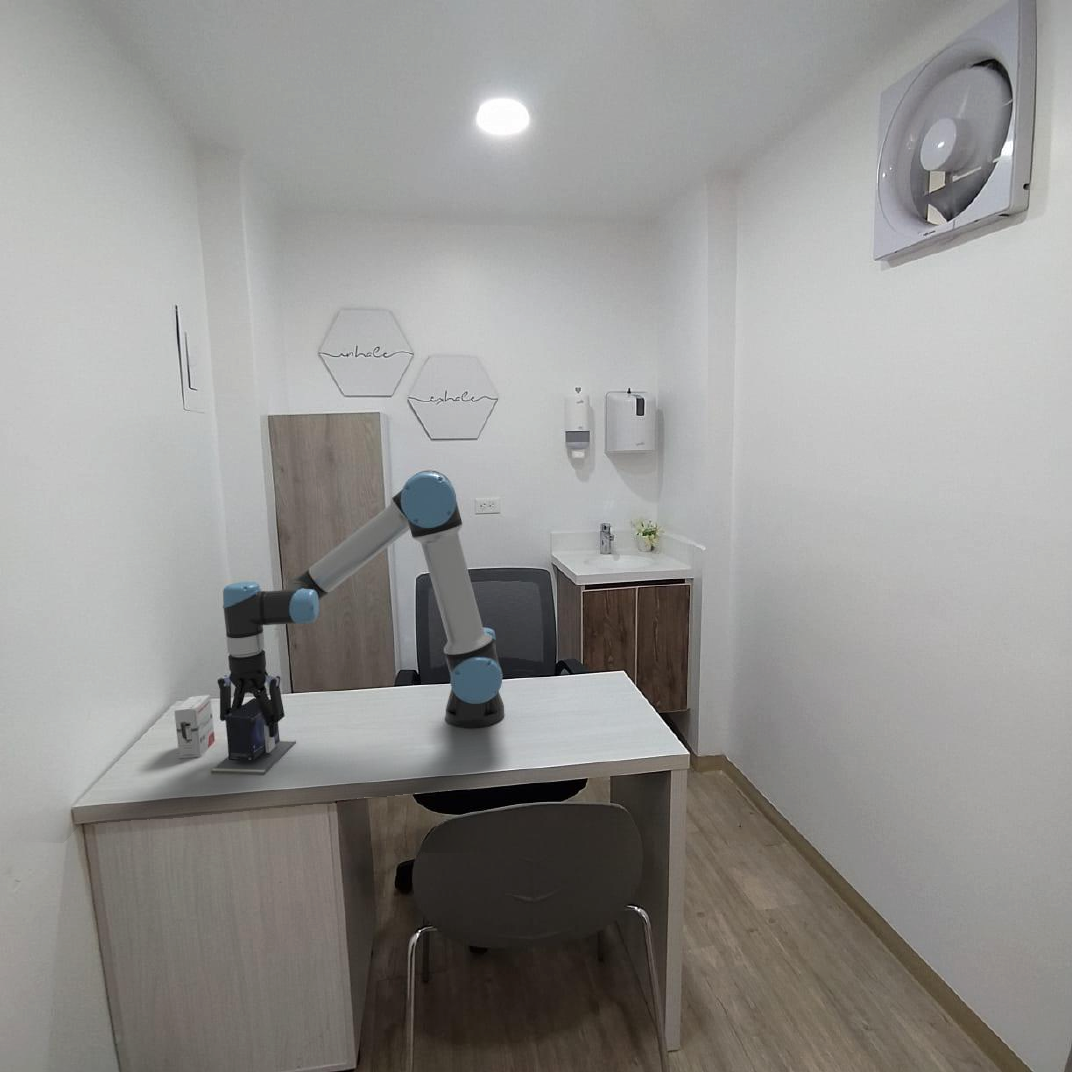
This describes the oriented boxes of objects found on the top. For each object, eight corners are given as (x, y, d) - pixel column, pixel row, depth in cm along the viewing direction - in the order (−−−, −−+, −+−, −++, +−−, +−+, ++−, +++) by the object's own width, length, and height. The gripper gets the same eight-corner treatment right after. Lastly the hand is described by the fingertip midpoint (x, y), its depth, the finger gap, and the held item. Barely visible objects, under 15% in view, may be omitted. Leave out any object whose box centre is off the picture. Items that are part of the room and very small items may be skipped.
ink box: (194, 741, 155) (190, 695, 153) (215, 740, 155) (211, 694, 154) (178, 759, 146) (172, 709, 145) (200, 757, 147) (195, 708, 145)
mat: (296, 742, 153) (295, 740, 153) (263, 774, 138) (263, 771, 138) (248, 741, 154) (248, 738, 154) (211, 773, 139) (210, 770, 139)
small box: (254, 762, 140) (249, 717, 139) (227, 761, 141) (222, 716, 140) (281, 741, 151) (277, 698, 149) (256, 739, 152) (252, 697, 150)
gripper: (296, 646, 146) (304, 742, 149) (214, 646, 147) (223, 741, 151) (280, 657, 138) (288, 758, 141) (194, 657, 140) (204, 756, 143)
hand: (255, 749), depth 146 cm, fingers closed on small box, 7 cm apart
